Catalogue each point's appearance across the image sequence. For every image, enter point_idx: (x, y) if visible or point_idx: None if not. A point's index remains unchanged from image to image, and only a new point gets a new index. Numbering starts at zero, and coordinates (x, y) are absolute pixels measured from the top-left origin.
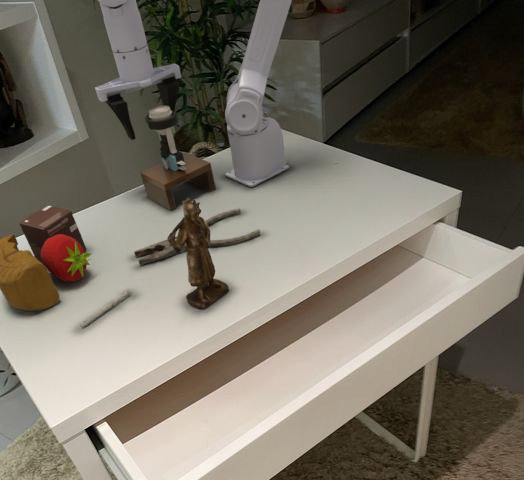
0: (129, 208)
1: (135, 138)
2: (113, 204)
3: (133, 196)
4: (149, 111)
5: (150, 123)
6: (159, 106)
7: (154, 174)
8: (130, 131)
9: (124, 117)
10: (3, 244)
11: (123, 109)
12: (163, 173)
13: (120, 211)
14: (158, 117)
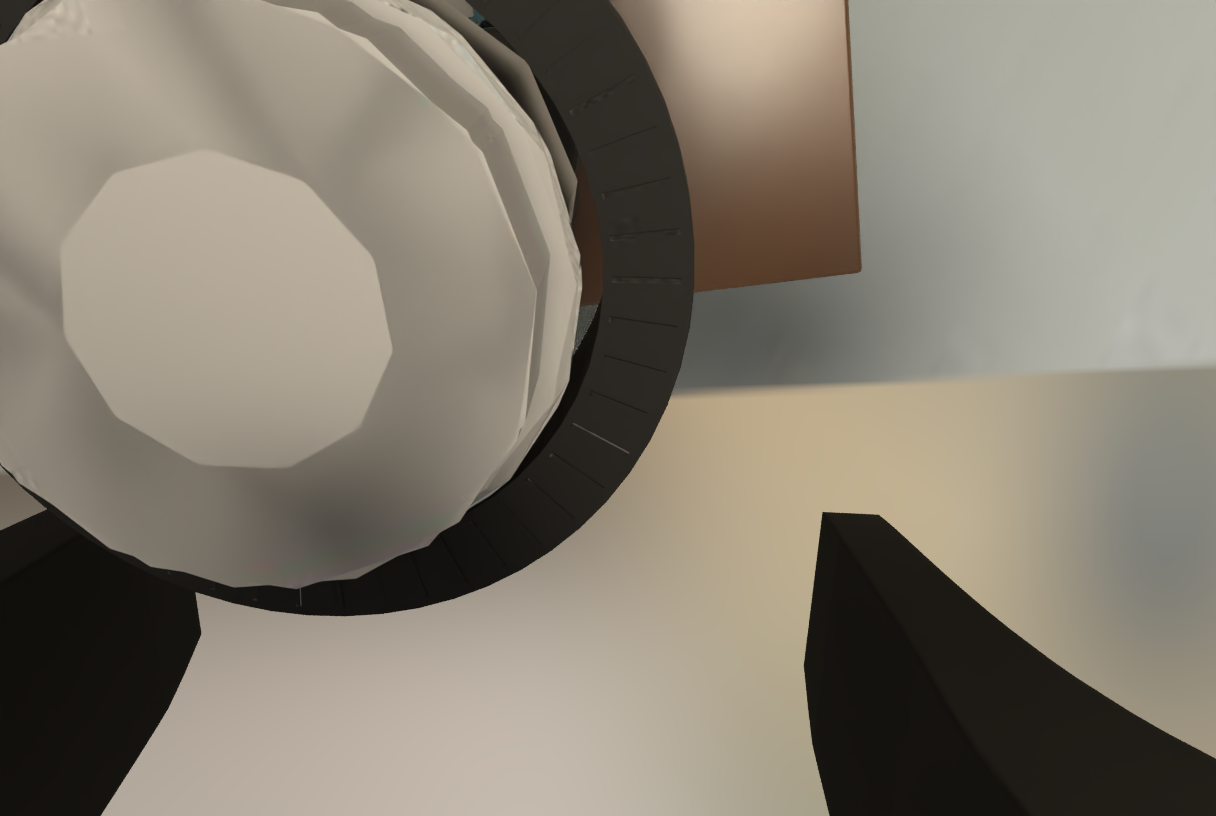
0: (1047, 139)
1: (825, 514)
2: (1102, 334)
3: (894, 335)
4: (503, 426)
5: (665, 106)
6: (153, 530)
7: (766, 73)
8: (916, 566)
9: (1073, 719)
10: None
11: (1171, 813)
12: (671, 1)
13: (1138, 151)
14: (407, 33)
